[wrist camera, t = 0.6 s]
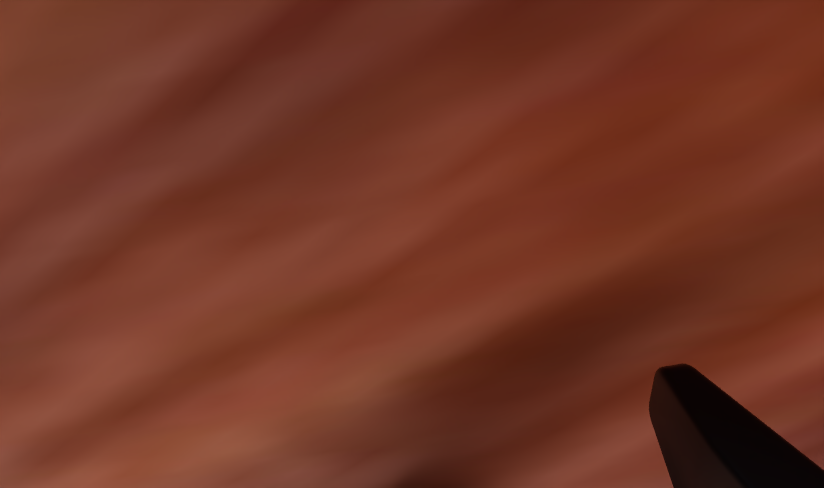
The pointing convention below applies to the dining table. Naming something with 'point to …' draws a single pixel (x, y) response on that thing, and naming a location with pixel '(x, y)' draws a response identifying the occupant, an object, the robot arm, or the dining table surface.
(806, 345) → the dining table surface
